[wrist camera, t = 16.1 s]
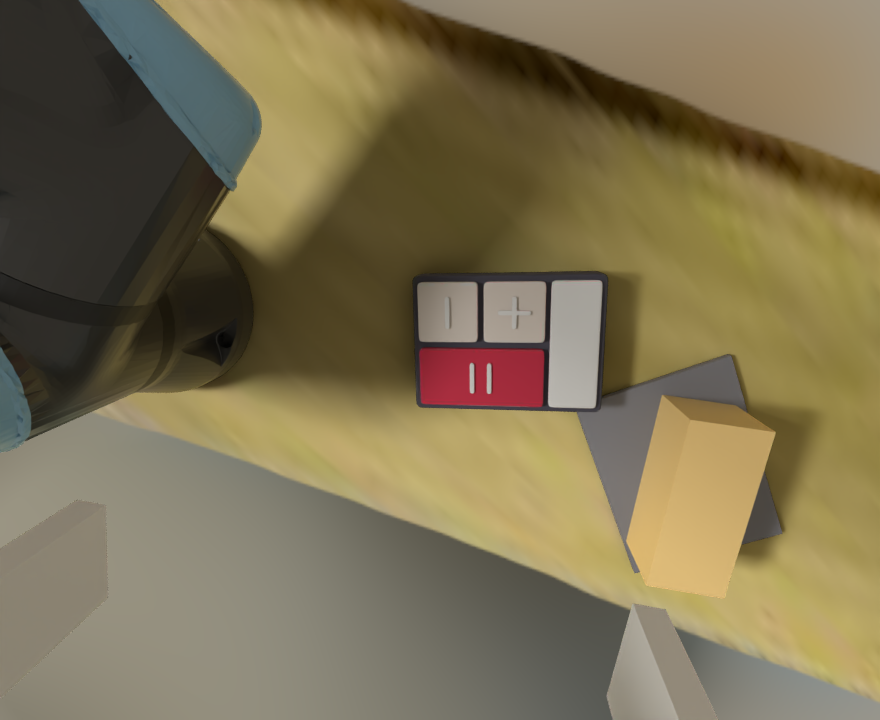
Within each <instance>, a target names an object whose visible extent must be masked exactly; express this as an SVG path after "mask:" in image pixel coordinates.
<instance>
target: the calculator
mask: <svg viewBox="0 0 880 720" xmlns="http://www.w3.org/2000/svg"><path fill="white" fill-rule="evenodd" d="M607 294H608V277H607V276H606V275H605V274H603V273H600V272H598V271H564V272H511V273H432V274H421V275H418V276H416V277H414V278H413V312H414V342H415V373H416V401H417V405H418V406H419V407H424V408H458V409H493V410H529V411H564V412H598V411H599V410H600V409H601V400H602V383H603V365H604V347H605V329H606V312H607Z"/></svg>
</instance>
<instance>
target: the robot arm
mask: <svg viewBox="0 0 880 720" xmlns="http://www.w3.org/2000/svg"><path fill="white" fill-rule="evenodd" d="M261 128H262V121H261V115H260V111H259V109H258V106H257V104H256V102H255V101H254V99H253V97H252V96H251V95H250V94H249V93H248V92H247V90H246V89H245V88H244V87H243V86H242V85H241V84H240V83H239V82H238V81H237V80H236V79H235V78H234V77H233V76H232V75H231V74H230V73H229V72H228V71H227V70H226V69H225V68H224V67H223V66H222V65H221V64H220V63H219V62H218V61H217V60H216V59H214V58H213V57H212V56H211V55H210V54H209V53H208V52H207V51H206V50H205V49H204V48H203V47H202V46H201V45H200V44H199V43H198V42H197V41H196V40H195V39H194V38H193V37H192V36H191V35H190V34H189V33H188V32H187V31H185V30H184V29H183V28H182V27H181V26H180V25H179V24H178V23H177V22H176V21H175V20H174V19H173V18H172V17H171V16H170V15H169V14H168V13H167V12H166V11H165V10H164V9H163V8H162V7H161V6H160V5H158V4H157V3H156V2H155V1H154V0H0V452H7V451H10V450H12V449H14V448H17V447H19V446H20V445H22V444H23V443H24V441H27V440H29V439H31V438H33V437H36V436H38V435H40V434H43V433H45V432H47V431H49V430H51V429H54V428H56V427H58V426H61V425H63V424H65V423H67V422H70V421H72V420H74V419H76V418H79V417H81V416H83V415H85V414H88V413H90V412H92V411H95V410H97V409H99V408H101V407H104V406H106V405H108V404H110V403H113V402H115V401H117V400H119V399H122V398H124V397H126V396H128V395H130V394H133V393H135V392H147V393H174V392H182V391H187V390H191V389H194V388H197V387H200V386H202V385H204V384H206V383H208V382H210V381H212V380H214V379H216V378H218V377H220V376H221V375H223V374H224V373H226V372H227V371H228V370H229V369H230V368H231V367H232V366H233V365H234V364H235V363H236V362H237V361H238V359H239V358H240V357H241V355H242V354H243V352H244V350H245V348H246V346H247V343H248V341H249V338H250V334H251V330H252V324H253V303H252V297H251V292H250V288H249V285H248V282H247V279H246V277H245V274H244V272H243V270H242V268H241V267H240V265H239V263H238V262H237V260H236V259H235V257H234V256H233V254H232V253H231V252H230V251H229V249H228V248H227V247H226V246H225V245H224V244H223V243H222V242H221V241H220V240H219V239H217V238H216V237H215V236H214V235H212V234H211V233H210V232H208V231H207V230H205V229H206V227H207V226H208V224H209V223H210V221H211V220H212V218H213V216H214V215H215V213H216V212H217V210H218V209H219V207H220V206H221V204H222V203H223V201H224V199H225V198H226V196H227V195H228V193H229V192H230V190H231V191H234V190H235V189H236V187H237V180H236V179H237V177H238V175H239V173H240V172H241V170H242V168H243V166H244V165H245V163H246V161H247V159H248V157H249V156H250V154H251V152H252V150H253V149H254V147H255V145H256V143H257V141H258V140H259V137H260V134H261ZM106 534H107V533H106V505H102V504H97V503H92V502H87V501H81V500H76V501H74V502H73V503H71V504H69V505H68V506H66V507H65V508H63V509H62V510H60V511H58V512H57V513H55V514H54V515H52V516H50V517H49V518H48V519H46V520H44V521H43V522H41V523H39V524H38V525H36V526H35V527H33V528H31V529H30V530H28V531H27V532H25V533H24V534H22V535H20V536H19V537H17V538H16V539H14V540H12V541H11V542H9V543H8V544H6V545H5V546H3V547H1V548H0V699H1V698H2V697H3V696H4V695H5V694H6V693H7V692H8V691H9V690H11V688H13V687H14V686H15V685H16V684H17V683H18V682H19V681H20V680H21V679H22V678H23V677H24V676H25V675H27V673H29V672H30V671H31V670H32V669H33V668H34V667H35V666H36V665H37V664H38V663H39V662H40V661H41V660H42V659H44V657H45V656H47V655H48V654H49V653H50V652H51V651H52V650H53V649H54V648H55V647H56V646H57V645H58V644H59V643H60V642H62V641H63V640H64V639H65V638H66V637H67V636H68V635H69V634H70V633H71V632H72V631H73V630H74V629H75V628H76V627H77V626H79V625H80V624H81V623H82V622H83V621H84V620H85V619H86V618H87V617H88V616H89V615H90V614H91V613H92V612H93V611H94V610H95V609H97V607H99V606H100V605H101V604H102V603H103V602H104V601H105V600H106V599H107V598H108V577H107V575H108V574H107V537H106V536H107V535H106ZM607 699H608V703H609V707H610V711H611V715H612V719H613V720H718V718H717V716H716V714H715V712H714V709H713V707H712V705H711V703H710V701H709V699H708V697H707V695H706V693H705V691H704V688H703V686H702V684H701V682H700V680H699V678H698V676H697V674H696V672H695V670H694V668H693V666H692V663H691V661H690V659H689V657H688V655H687V653H686V651H685V649H684V647H683V645H682V643H681V640H680V639H679V637H678V634H677V633H676V630H675V628H674V626H673V624H672V622H671V620H670V618H669V615H668V613H667V611H666V609H660V608H655V607H650V606H644V605H639V604H633V605H632V608H631V612H630V616H629V619H628V622H627V626H626V629H625V633H624V636H623V640H622V644H621V647H620V651H619V654H618V658H617V661H616V665H615V668H614V673H613V676H612V679H611V683H610V687H609V690H608V693H607Z"/></svg>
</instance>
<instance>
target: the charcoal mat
mask: <svg viewBox="0 0 880 720" xmlns="http://www.w3.org/2000/svg"><path fill="white" fill-rule="evenodd" d="M662 395H668V396H675V397H682V398H689V399H696V400H703V401H709V402H716V403H723V404H730V405H736V406H737V407H739V408H740V409H742V410H743V411H745V412H746V413H748V412H747V409H746V405H745V402H744V398H743V395H742V391H741V388H740V384H739V381H738V377H737V374H736V370H735V367H734V363H733V360H732V356H731V355H729V354H727V355H724V356H721V357H718V358H715V359H712V360H709V361H706V362H703V363H700V364H697V365H694V366H691V367H688V368H685V369H682V370H679V371H676V372H673V373H670V374H667V375H664V376H661V377H658V378H655V379H652V380H649V381H646V382H643V383H640V384H637V385H634V386H631V387H628V388H625V389H622V390H619V391H616V392H613V393H610V394H607V395H604V396H602V400H601V409H600V410H599V411H598V412H577V415H578V417H579V420H580V423H581V426H582V429H583V431H584V434H585V437H586V440H587V442H588V445H589V448H590V451H591V454H592V456H593V459H594V462H595V465H596V468H597V470H598V473H599V476H600V479H601V482H602V484H603V487H604V490H605V493H606V495H607V498H608V501H609V504H610V507H611V509H612V512H613V515H614V518H615V521H616V523H617V526H618V529H619V532H620V535H621V537H622V540H623V543H624V546H625V549H626V551H627V554H628V557H629V560H630V562H631V565H632V568H633V571H634V573H638V572H640V571H639V568H638V566H637V564H636V562H635V560H634V557H633V555H632V553H631V551H630V549H629V546H628V544H627V542H626V539H627V535H628V531H629V527H630V523H631V519H632V515H633V511H634V507H635V502H636V498H637V494H638V490H639V486H640V482H641V478H642V474H643V470H644V466H645V462H646V458H647V454H648V450H649V446H650V442H651V438H652V433H653V429H654V425H655V421H656V417H657V413H658V409H659V405H660V401H661V397H662ZM779 534H782V530H781V527H780V523H779V520H778V516H777V513H776V509H775V506H774V502H773V499H772V495H771V492H770V488H769V485H768V482H767V478H766V475H765V471H764V473H763V476H762V479H761V482H760V486H759V489H758V492H757V495H756V498H755V502H754V505H753V508H752V511H751V514H750V518H749V521H748V524H747V527H746V531H745V534H744V537H743V540H742V543H741V545H742V544H746V543H749V542H753V541H757V540H760V539H764V538H768V537H772V536H775V535H779Z"/></svg>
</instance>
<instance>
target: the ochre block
mask: <svg viewBox="0 0 880 720" xmlns="http://www.w3.org/2000/svg"><path fill="white" fill-rule="evenodd" d="M775 434H776V432H775V431H773V430H772V429H770V428H769V427H767V426H766V425H764V424H763V423H761V422H760V421H758V420H757V419H755V418H754V417H752V416H751V415H749V414H748V413H746V412H745V411H743V410H742V409H740V408H739V407H737V406H736V405H730V404H723V403H716V402H709V401H703V400H696V399H689V398H682V397H675V396H668V395H662V397H661V401H660V405H659V409H658V413H657V417H656V421H655V425H654V429H653V433H652V438H651V442H650V446H649V450H648V454H647V458H646V462H645V466H644V470H643V474H642V478H641V482H640V486H639V490H638V494H637V498H636V502H635V507H634V511H633V515H632V519H631V523H630V527H629V531H628V535H627V539H626V542H627V544H628V546H629V549H630V551H631V553H632V555H633V557H634V560H635V562H636V564H637V566H638V568H639V571H640V573H641V575H642V577H643V579H644V581H645V584H646V586H652V587H658V588H664V589H670V590H676V591H682V592H688V593H694V594H700V595H705V596H711V597H717V598H723V599H724V598H725V595H726V592H727V588H728V585H729V582H730V579H731V575H732V572H733V569H734V566H735V563H736V559H737V556H738V553H739V550H740V547H741V543H742V540H743V537H744V534H745V531H746V527H747V524H748V521H749V518H750V514H751V511H752V508H753V505H754V502H755V498H756V495H757V492H758V489H759V486H760V482H761V479H762V476H763V473H764V469H765V466H766V463H767V460H768V457H769V453H770V450H771V447H772V444H773V441H774V437H775Z"/></svg>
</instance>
